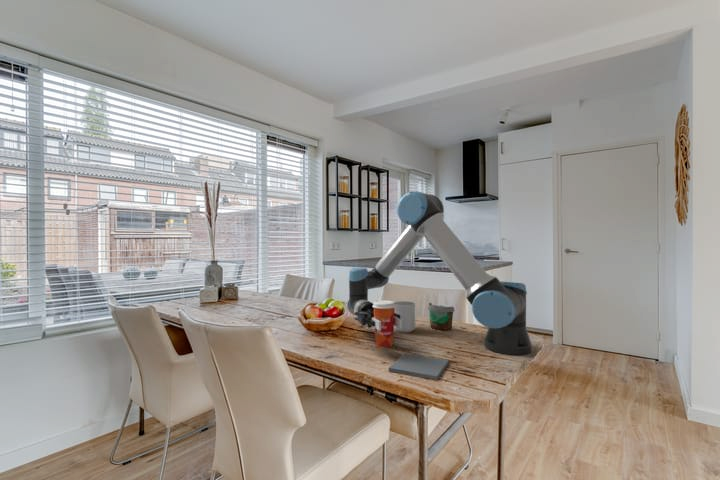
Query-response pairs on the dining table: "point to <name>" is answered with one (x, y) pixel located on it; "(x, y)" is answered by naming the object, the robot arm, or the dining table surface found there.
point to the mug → (405, 315)
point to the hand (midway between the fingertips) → (390, 325)
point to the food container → (440, 317)
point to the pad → (419, 366)
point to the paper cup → (384, 322)
